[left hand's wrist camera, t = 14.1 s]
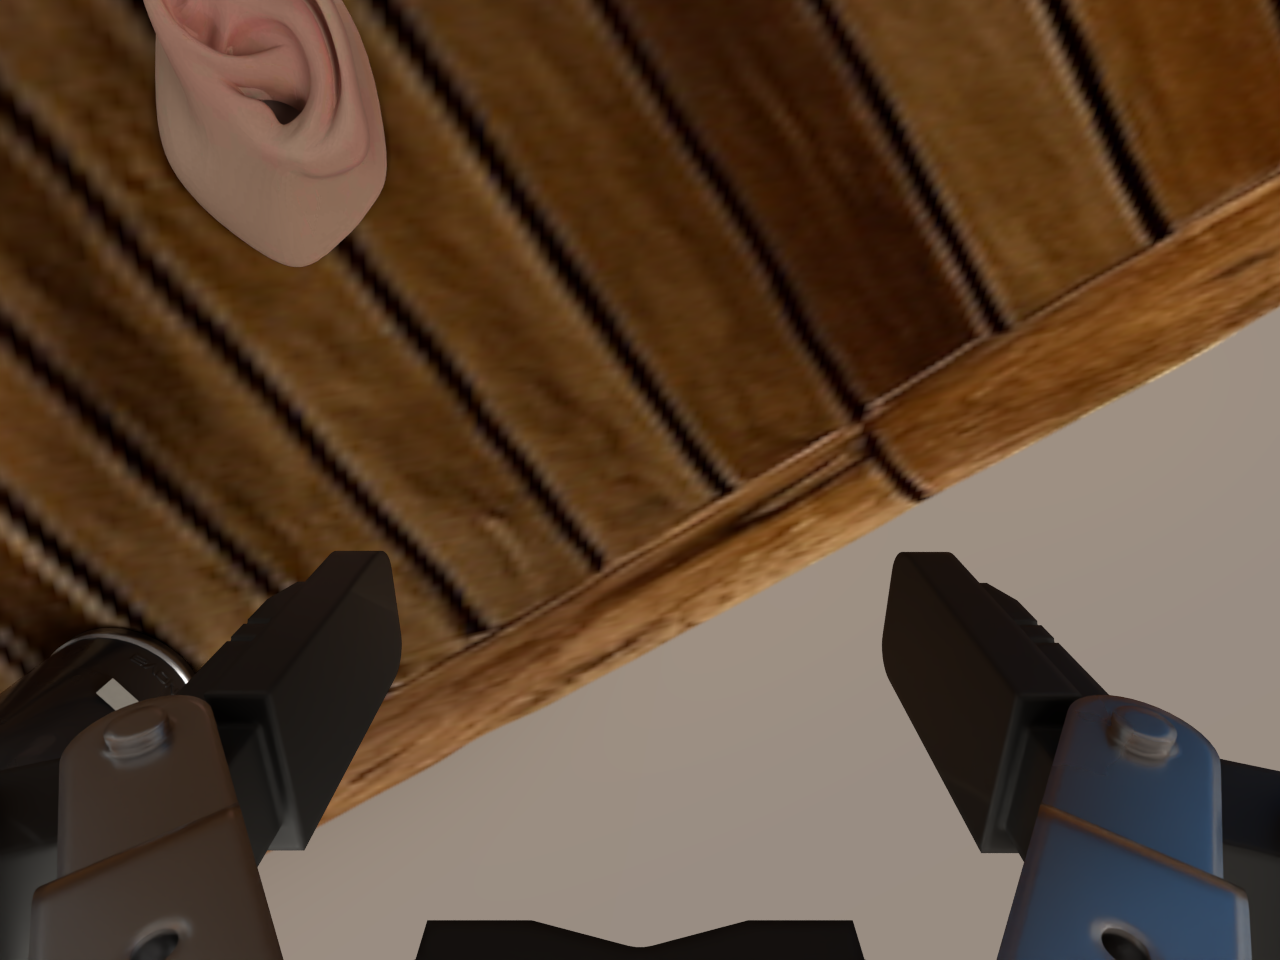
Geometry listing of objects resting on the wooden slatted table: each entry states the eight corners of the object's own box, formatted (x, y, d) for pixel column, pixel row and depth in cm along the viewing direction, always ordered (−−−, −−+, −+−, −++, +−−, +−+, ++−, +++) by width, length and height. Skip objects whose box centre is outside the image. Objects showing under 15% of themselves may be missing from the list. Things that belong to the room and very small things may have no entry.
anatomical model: (317, 303, 32) (61, 189, 30) (350, 294, 36) (123, 191, 34) (408, -5, 28) (115, -158, 26) (435, 21, 32) (180, -112, 30)
